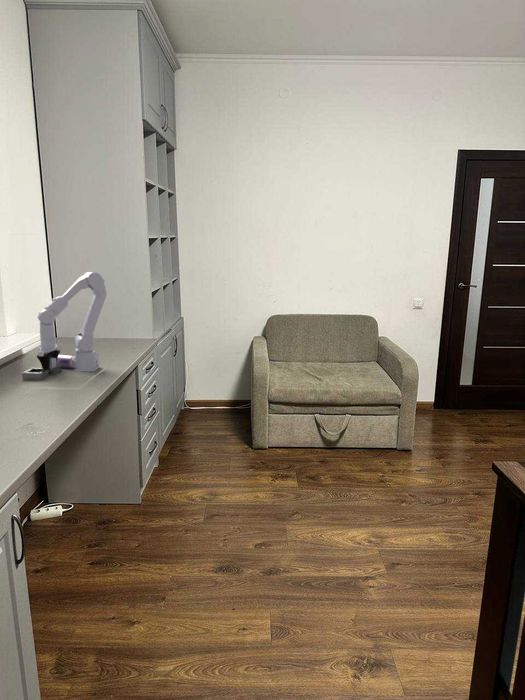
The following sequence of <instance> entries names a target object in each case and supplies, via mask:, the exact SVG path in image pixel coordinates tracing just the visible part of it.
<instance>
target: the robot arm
mask: <svg viewBox="0 0 525 700" xmlns="http://www.w3.org/2000/svg"><path fill="white" fill-rule="evenodd" d="M85 289H90V290H91V292H92V293H93V297H92V299H91V301H90V304H89V307H88V310H87V313H86V316H85V319H84V322H83V324H82V327H81V328H80V329H79V331H78V334H76V335H75V337H74V339H73V344H74V345H75V346H76V347H75V349H74V356H75V357H76V368H74V369H73V372H74V371H75V372H95V371H96V370H97V369H99V368H100V358H99V352H98V351H97V350H93V346H94V343H93V342H94V338H95V337H94V334H95V333H94V331H95V329H96V326H97V323H98V320H99V317H100V315H101V311H102V309H103V306H104V303H105V301H106V298H107V289H106V285H105V280H104V278H103V276H102V275H101V274H100V273H98V272H94V271H91V270H90V271H86V272H85V273H83V275H81V276H79V278H78V279H77V280H75V282H74V283H73V284H72V285H71V286H70V287H69V288H68V289H67V291H65V292H64V293H63V294H62V295H61V296H56V297H53V298H52V299H51V300H52V301H50V303H48V304H47V306H44V307H43V309H42V310H40V312H39V313H38V315H37V319H38V321H39V338H40V347H38V352H37V355H36V358H37V359H38V360H39V363H40V365H41V367H42V368H49V366H50V359H51V357H53V358H56V363H57V358H58V355H60V353H61V349H59V345H58V344H56V331H55V325H54V323H55V321H56V318H57V317H58V316H59V315H60V314H61V313H62V312H64V311H65V309H66V308H67V307H68V306H69V304H68V302H69V301H71V300H72V299H73V298H74V297H75V296H76V295H77V294H78V293H79V292H81V291H82V290H85Z"/></svg>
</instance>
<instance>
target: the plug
mask: <svg viewBox="0 0 525 700" xmlns="http://www.w3.org/2000/svg"><path fill="white" fill-rule="evenodd" d="M55 367H57V366H56V358H53V357H51V359H50V366H49V368H50V373H51V374H52V369H53V368H55Z"/></svg>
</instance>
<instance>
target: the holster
mask: <svg viewBox="0 0 525 700" xmlns="http://www.w3.org/2000/svg"><path fill="white" fill-rule="evenodd" d="M40 368H42V366H41V367H40ZM61 371H62V368H61V365H59V366H57V367H55V368H53V369H52V374H51V375H50V376H54V375H57V374H58V373H60V372H61Z"/></svg>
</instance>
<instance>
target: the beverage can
mask: <svg viewBox="0 0 525 700" xmlns="http://www.w3.org/2000/svg"><path fill="white" fill-rule="evenodd" d="M59 365H61V369H73V370H74V369H76V357H75V355H69V354H68V355H66V354H59V355H58V358H57V363H56V366H59Z"/></svg>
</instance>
